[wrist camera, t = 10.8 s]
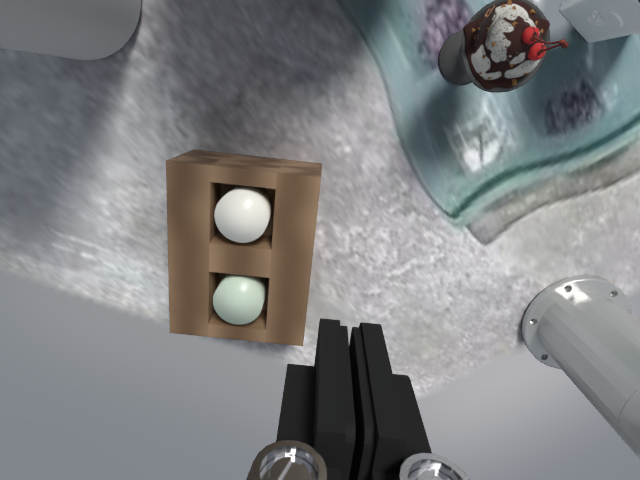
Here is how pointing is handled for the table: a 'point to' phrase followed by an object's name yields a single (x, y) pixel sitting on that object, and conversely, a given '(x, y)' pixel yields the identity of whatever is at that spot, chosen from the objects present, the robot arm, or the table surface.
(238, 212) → the ivory button
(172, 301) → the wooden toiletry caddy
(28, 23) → the cylinder vase
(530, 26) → the sundae
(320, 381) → the robot arm
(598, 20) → the jar
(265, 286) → the sage button
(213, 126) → the table surface
